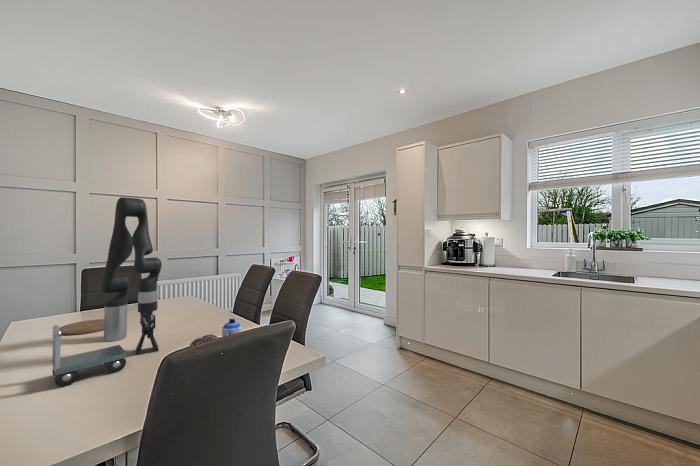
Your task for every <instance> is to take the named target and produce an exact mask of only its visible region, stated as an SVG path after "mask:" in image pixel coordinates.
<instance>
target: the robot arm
mask: <svg viewBox="0 0 700 466" xmlns="http://www.w3.org/2000/svg"><path fill="white" fill-rule="evenodd" d="M127 217H129V218H130V217H131V218H133V217H134V218H136V219H137V220H138V224H137V227H136V228H135V230H134V232H133V234H131V232H130V231H129V229H128V228H127V224H126V219H127ZM149 231H150V230H149V220H148V210H147V204H146V202H145V201H144V200H143V198H134V197H125V196H123V197H119V198H118V199H117V202H116V205H115V214H114V224H113V230H112V235H111V239H110V243H109V248H108V252H107V253H108V254H107V261H106V263H105V267H104V271H103V273H102V276H101V281H100V290H101V292H102V293H103V294H113V293H116V294H115V295H113V296H112V297H110V298H108V299H106V300H104V316H103V317H104V318H103V319H104V330H103V341H104V342H115V341H120V340H123V339H125V338H127V336H128V335H127V333H128V300H129V289H130V277H129V276H128V274H126V273H116V271H117V270H118V268H120V267H121V265H122V264H124V262H126V261H127V260H128V259H129V258H130V256H131V255H132V252H133V250H134V262H133V269H134V272H135V273H138V274H142V275H143V274H148V276H146V277H144V278H141V279H139V280H138V295H137V312H138V313H139V314H140V319H139V324H140V326H141V334H142V333H143V328H144V325H145V326H146V328H145V329H146V330H147V335H146V338H147V339H150V338H153V335H154V329H156V315H155V314H154V312H156V311H157V310H158V280H159V275H160V273H161V270H162V265H163V264H162V261H161V259H160V258H159V257H145V256H148V255H151V254H152V253H153V252H154V248H153V245H152V241H151V237H150V232H149ZM150 325H151V327H150Z"/></svg>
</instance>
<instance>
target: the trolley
mask: <svg viewBox="0 0 700 466" xmlns="http://www.w3.org/2000/svg"><path fill="white" fill-rule="evenodd" d="M59 328H60V327H59V325H55V324H54V325H53V326H52V360H51V361H52V363H51V366H52V370H51V372H52V375H53V377H54V384H55V385H56V386H58V387H61V388H62V387H63V388H64V387H68V386H70V385H73V384H74V383H75V382H76V381H77V379H78V378H79V372H78V370H79V371H80V370H82V369H87V368H90V367H93V366H94V367H95V366H99V365H102V364H103V365H104V366H105V369H106V370H107V371H108V372H109V373H112V374H114V373H118V372H121V371H122V370H124V368H125V367H126V364H127V361H126V359H127V351H125V349H124V348H123V347H122V346H121V344H118V345H113V346H109V347H104V348H100V349H95V350H91V351H90V350H89V351H86V352H81V353H76V354H72V355H67V356H63V357H61V342H62V341H61V338H62V335H61V334H62V333H61V331H60V329H59Z"/></svg>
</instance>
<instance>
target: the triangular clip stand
mask: <svg viewBox="0 0 700 466" xmlns="http://www.w3.org/2000/svg"><path fill="white" fill-rule="evenodd" d="M151 326H152V325H150V327H151ZM145 328H146V326H145V325H144V328H143V333H142V332H141V336H140V339H139V341H138V343H137V345H136V346H135V347H136V348H135V350H134V356H135V357H136V356H142V355H146V354H152V353H156V352H157V353H158V352H159V344H158V342H157V341H156V337H155V336H154V334H153V338H149V339H150V343H151V347H148V348H142V347H143V344H144V340H145V338H146V337H147V330H146V329H145Z"/></svg>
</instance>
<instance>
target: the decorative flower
mask: <svg viewBox="0 0 700 466" xmlns="http://www.w3.org/2000/svg"><path fill="white" fill-rule="evenodd" d="M216 338H218V339H219V337H218V336H216V335H214V334H205V335H202V336H201V337H197V338H195V339H194V340H192V341H191V343H190V344H189V346H192V345H196V344H199V343H202V342H206V341H209V340H212V339H216Z"/></svg>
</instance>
